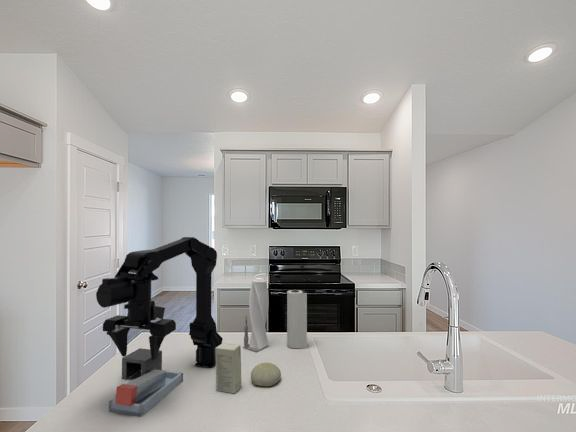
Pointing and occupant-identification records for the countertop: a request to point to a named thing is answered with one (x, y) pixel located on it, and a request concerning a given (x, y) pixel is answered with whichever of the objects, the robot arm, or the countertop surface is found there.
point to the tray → (149, 397)
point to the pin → (140, 387)
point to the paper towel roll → (296, 319)
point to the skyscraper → (257, 315)
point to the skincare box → (228, 367)
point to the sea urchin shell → (265, 374)
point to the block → (140, 363)
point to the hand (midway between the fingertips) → (139, 357)
